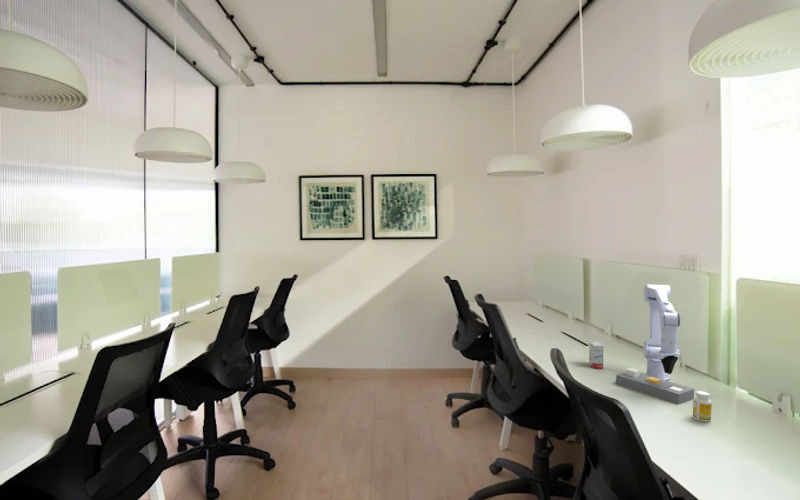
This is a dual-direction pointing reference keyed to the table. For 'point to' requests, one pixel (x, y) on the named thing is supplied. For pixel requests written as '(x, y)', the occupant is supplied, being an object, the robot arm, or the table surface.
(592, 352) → the ink box
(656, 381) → the amber button
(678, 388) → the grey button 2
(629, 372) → the block
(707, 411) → the supplement bottle
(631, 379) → the panel
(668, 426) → the table surface
